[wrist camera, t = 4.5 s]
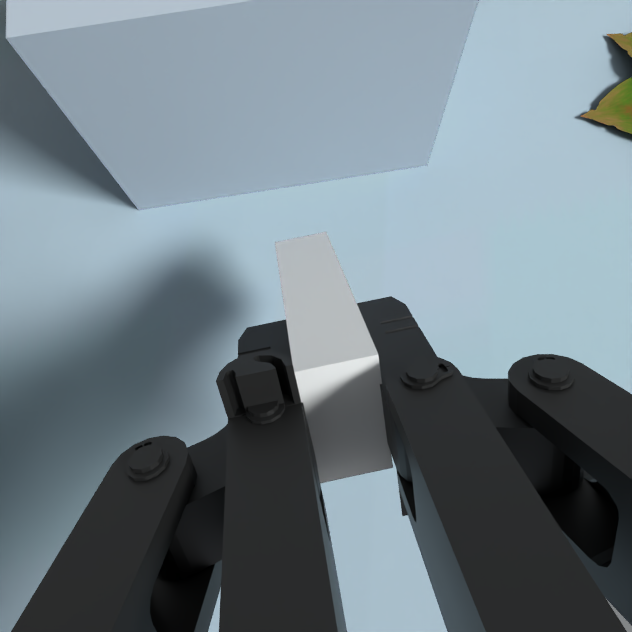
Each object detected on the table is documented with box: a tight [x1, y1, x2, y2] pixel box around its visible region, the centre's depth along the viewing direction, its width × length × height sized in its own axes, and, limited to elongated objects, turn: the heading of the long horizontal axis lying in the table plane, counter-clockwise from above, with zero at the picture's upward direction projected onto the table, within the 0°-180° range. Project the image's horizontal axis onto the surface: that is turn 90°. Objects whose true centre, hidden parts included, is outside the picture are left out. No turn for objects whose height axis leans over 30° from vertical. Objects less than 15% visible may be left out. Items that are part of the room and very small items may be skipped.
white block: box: [6, 0, 479, 210], centre depth 18 cm, size 12×8×9 cm, turn 99°
